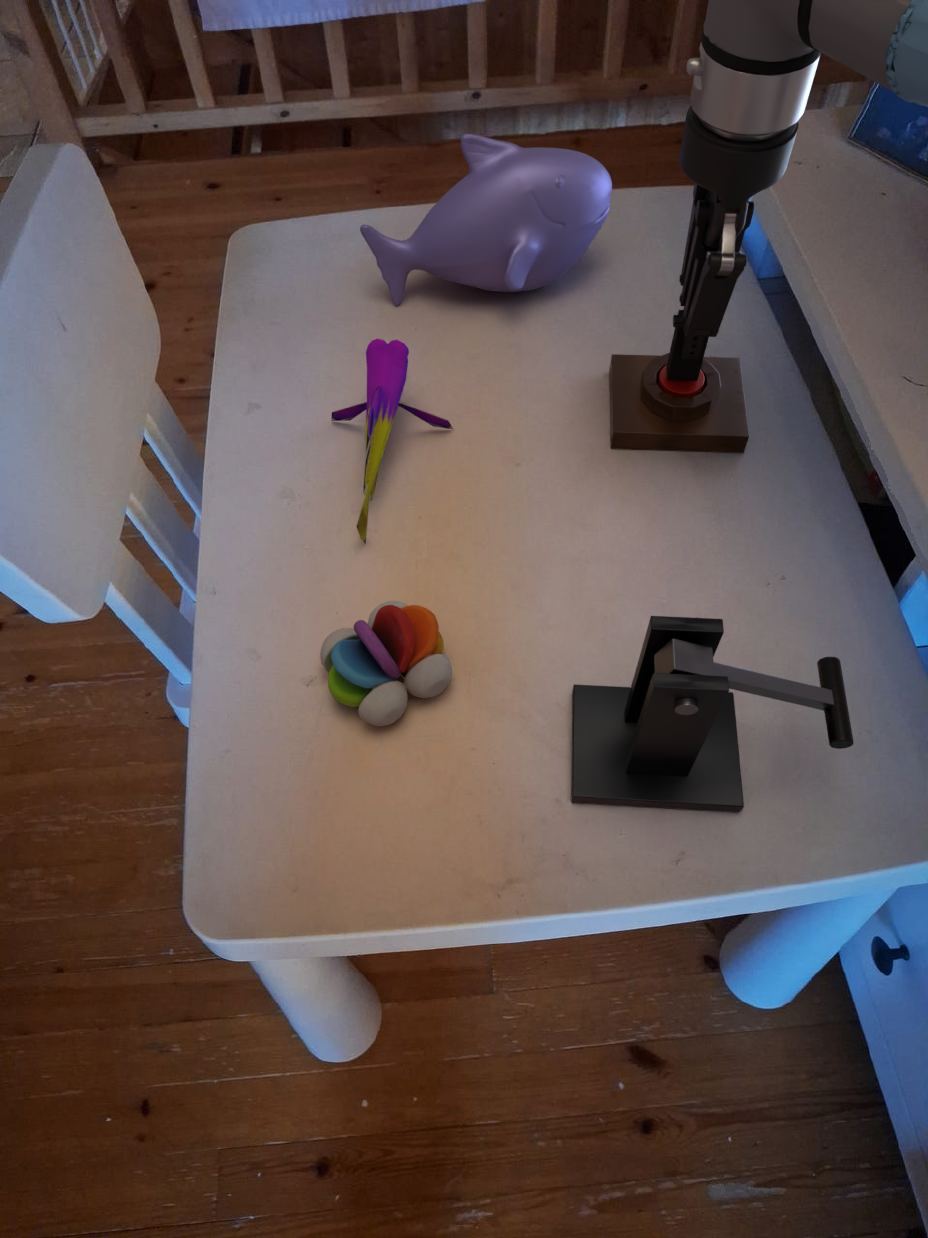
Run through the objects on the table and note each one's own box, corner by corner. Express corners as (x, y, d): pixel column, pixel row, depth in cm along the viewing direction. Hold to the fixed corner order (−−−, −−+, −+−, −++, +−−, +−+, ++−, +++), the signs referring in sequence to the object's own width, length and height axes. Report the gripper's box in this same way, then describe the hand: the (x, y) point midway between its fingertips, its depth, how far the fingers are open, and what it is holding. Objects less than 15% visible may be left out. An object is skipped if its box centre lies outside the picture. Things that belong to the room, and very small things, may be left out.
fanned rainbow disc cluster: (470, 682, 70) (467, 635, 64) (363, 748, 68) (350, 705, 62) (411, 607, 74) (403, 555, 68) (309, 667, 72) (291, 619, 65)
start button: (699, 376, 83) (703, 361, 82) (702, 407, 81) (706, 393, 80) (655, 375, 84) (658, 360, 82) (657, 406, 82) (660, 392, 80)
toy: (460, 378, 86) (452, 314, 76) (436, 567, 80) (424, 524, 71) (339, 371, 87) (317, 306, 77) (307, 556, 81) (279, 512, 72)
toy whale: (638, 282, 88) (616, 104, 78) (393, 353, 90) (342, 187, 80) (606, 243, 99) (583, 82, 89) (387, 307, 100) (341, 156, 91)
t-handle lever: (826, 671, 61) (849, 655, 59) (838, 753, 58) (864, 739, 56) (652, 629, 58) (671, 611, 56) (656, 713, 55) (675, 697, 53)
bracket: (729, 699, 69) (782, 594, 56) (740, 813, 64) (799, 725, 52) (572, 691, 70) (589, 585, 57) (571, 803, 65) (589, 714, 52)
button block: (734, 374, 87) (744, 342, 84) (743, 453, 82) (754, 422, 78) (609, 371, 88) (613, 339, 84) (610, 448, 82) (615, 417, 79)
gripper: (682, 59, 64) (637, 323, 85) (693, 167, 58) (641, 426, 78) (789, 60, 64) (718, 325, 84) (813, 169, 57) (730, 429, 77)
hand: (681, 374), depth 81 cm, fingers closed
